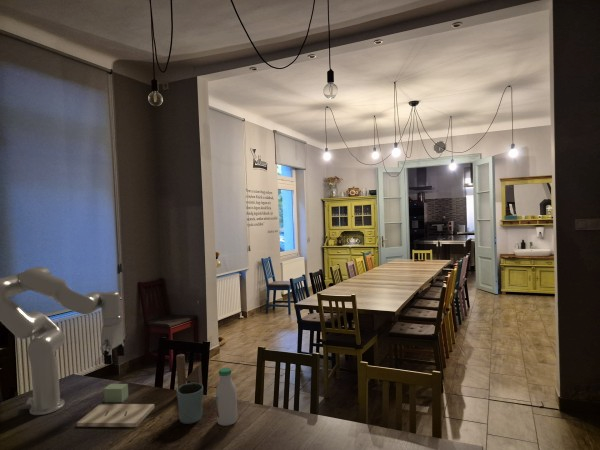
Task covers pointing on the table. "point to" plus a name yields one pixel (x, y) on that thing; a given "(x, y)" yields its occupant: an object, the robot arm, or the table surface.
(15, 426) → the table surface
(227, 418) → the milk bottle
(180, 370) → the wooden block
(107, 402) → the block
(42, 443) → the table surface
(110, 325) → the robot arm
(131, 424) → the birch board
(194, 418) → the blue cup
